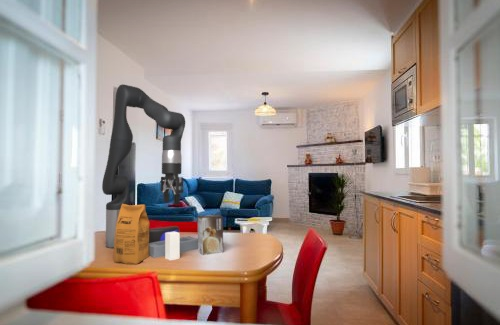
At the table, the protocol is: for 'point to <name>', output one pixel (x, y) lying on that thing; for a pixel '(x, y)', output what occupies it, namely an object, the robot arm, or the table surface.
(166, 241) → the plug
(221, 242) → the coffee box
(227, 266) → the table surface
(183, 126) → the robot arm
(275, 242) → the table surface
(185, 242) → the block
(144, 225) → the coffee package
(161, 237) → the dark computer mouse
